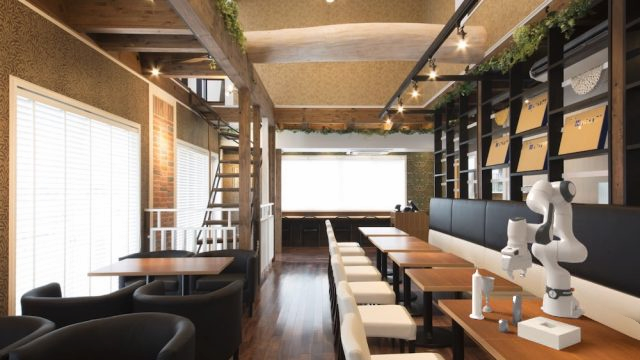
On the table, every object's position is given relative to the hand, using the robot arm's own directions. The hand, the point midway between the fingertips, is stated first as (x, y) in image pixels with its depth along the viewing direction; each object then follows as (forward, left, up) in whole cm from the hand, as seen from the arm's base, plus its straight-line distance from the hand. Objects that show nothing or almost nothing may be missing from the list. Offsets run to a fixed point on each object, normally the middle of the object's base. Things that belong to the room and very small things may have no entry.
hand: (517, 278), depth 196 cm
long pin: (0, 0, -23) cm, 23 cm away
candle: (+8, -17, -23) cm, 30 cm away
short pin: (+14, +2, -23) cm, 27 cm away
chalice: (-6, -21, -23) cm, 32 cm away
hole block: (+5, +18, -23) cm, 29 cm away
